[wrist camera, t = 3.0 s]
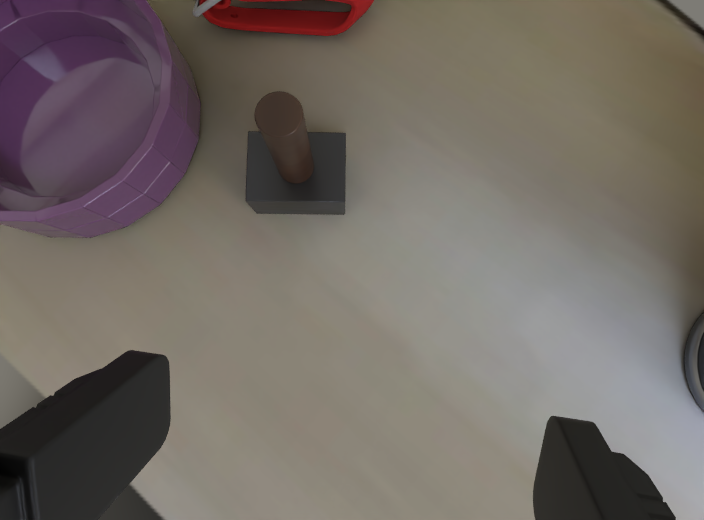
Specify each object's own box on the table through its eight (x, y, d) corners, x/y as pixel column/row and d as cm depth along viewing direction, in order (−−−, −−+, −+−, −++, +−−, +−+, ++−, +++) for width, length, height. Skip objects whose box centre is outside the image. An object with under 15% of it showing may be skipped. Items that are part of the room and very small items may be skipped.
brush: (345, 152, 33) (345, 68, 22) (344, 214, 32) (344, 161, 21) (258, 150, 33) (214, 66, 22) (256, 213, 32) (209, 159, 21)
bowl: (208, 15, 34) (178, -49, 28) (196, 240, 32) (162, 223, 26) (-22, 11, 34) (-101, -55, 28) (-48, 237, 32) (-139, 219, 26)
